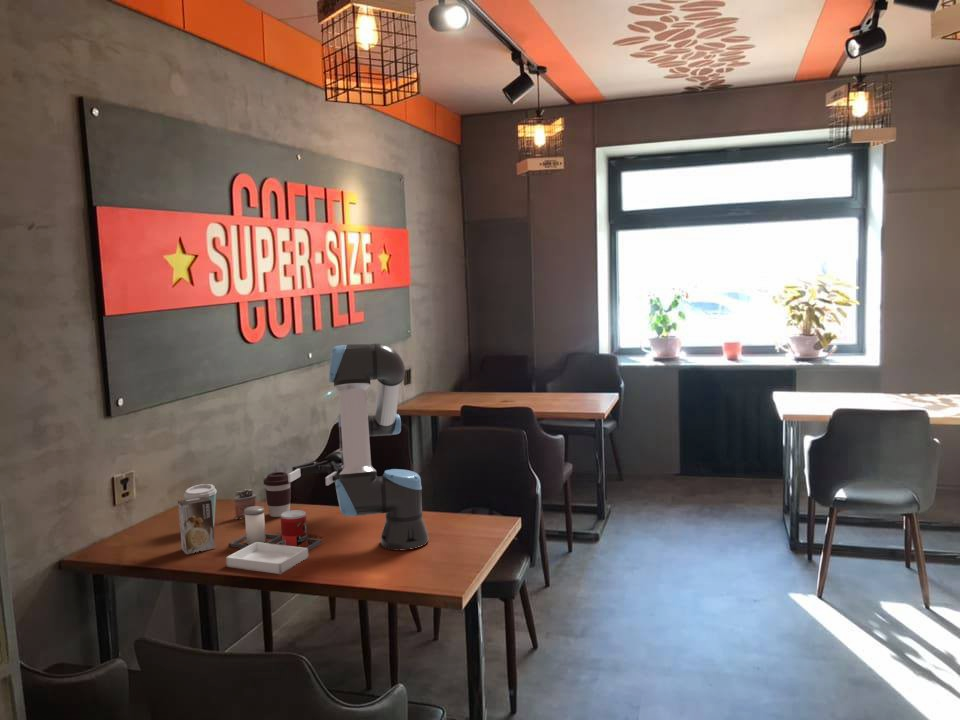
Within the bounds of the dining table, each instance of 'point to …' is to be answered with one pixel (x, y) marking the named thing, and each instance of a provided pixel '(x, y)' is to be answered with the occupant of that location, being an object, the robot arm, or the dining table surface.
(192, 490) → the disposable coffee cup
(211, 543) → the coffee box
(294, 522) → the canned food
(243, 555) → the tray
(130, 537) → the dining table surface
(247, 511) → the salt shaker
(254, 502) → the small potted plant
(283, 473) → the coffee cup
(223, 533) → the dining table surface
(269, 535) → the rectangular frames
